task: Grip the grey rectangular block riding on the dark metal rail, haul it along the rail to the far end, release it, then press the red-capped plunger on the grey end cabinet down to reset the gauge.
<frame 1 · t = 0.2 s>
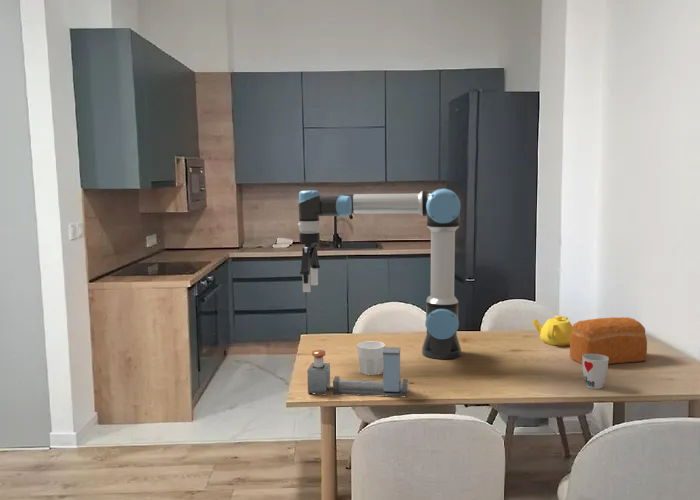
hand: (310, 288, 243), 28 cm above the table, fingers open, 13 cm apart
teapot: (552, 341, 269), on the table
grey rectangular block: (391, 369, 209), point 8 cm above the table, slide at -7.0 cm
cup 2: (371, 372, 232), on the table
rail: (370, 391, 211), on the table
bread: (607, 360, 243), on the table
plunger: (318, 365, 212), point 9 cm above the table, slide at 0.0 cm
gauge cabinet: (319, 390, 213), on the table
cup: (594, 387, 213), on the table
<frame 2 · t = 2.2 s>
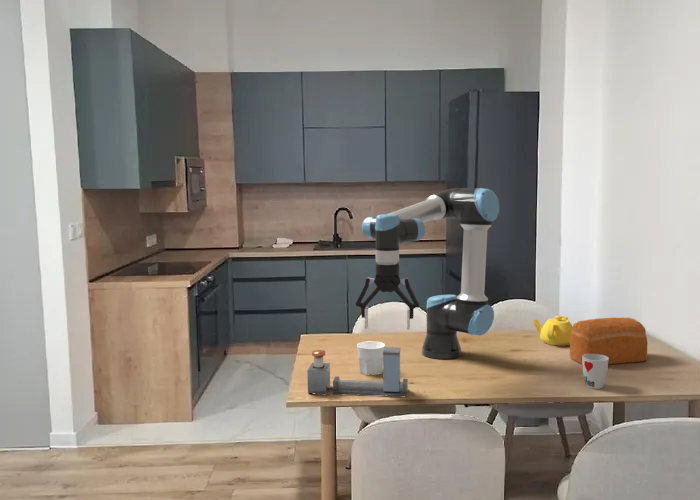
hand: (387, 328, 208), 21 cm above the table, fingers open, 13 cm apart
nothing on the table moved.
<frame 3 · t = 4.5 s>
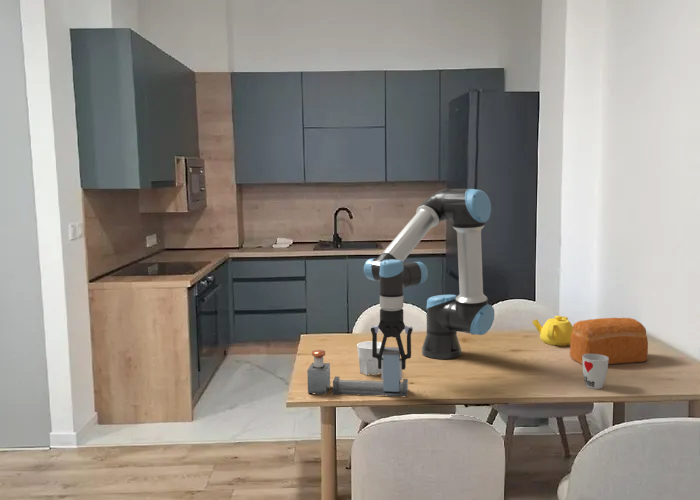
hand: (391, 378, 209), 5 cm above the table, fingers closed on grey rectangular block, 5 cm apart
grey rectangular block: (391, 369, 209), point 8 cm above the table, slide at -7.0 cm, touching gripper
everything else where it was.
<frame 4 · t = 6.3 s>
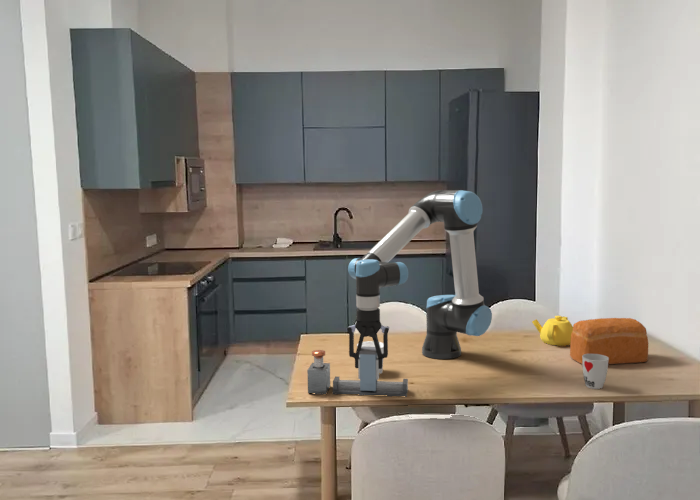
hand: (368, 377, 210), 5 cm above the table, fingers closed on grey rectangular block, 5 cm apart
grey rectangular block: (368, 368, 210), point 8 cm above the table, slide at 0.5 cm, touching gripper
everything else where it was.
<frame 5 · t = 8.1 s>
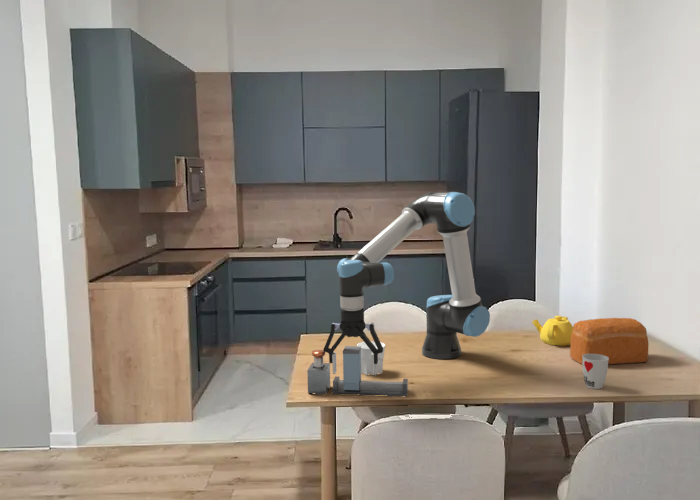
hand: (353, 373, 211), 6 cm above the table, fingers open, 12 cm apart
grey rectangular block: (352, 368, 211), point 8 cm above the table, slide at 5.9 cm
plunger: (318, 365, 212), point 9 cm above the table, slide at 0.0 cm, touching gripper
everything else where it was.
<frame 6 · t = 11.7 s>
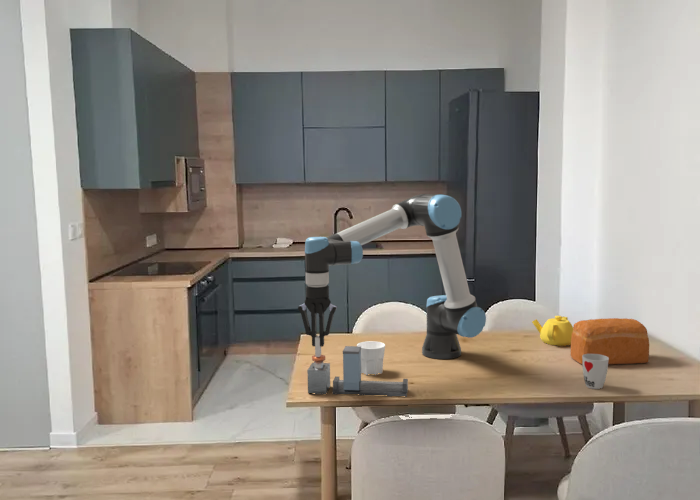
hand: (318, 355, 212), 12 cm above the table, fingers closed
plunger: (318, 369, 212), point 7 cm above the table, slide at 1.6 cm, touching gripper
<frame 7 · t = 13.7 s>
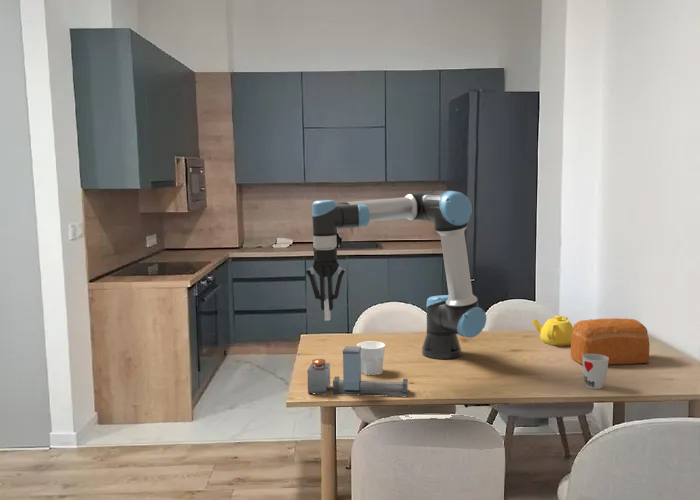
hand: (327, 319, 212), 23 cm above the table, fingers closed
plunger: (319, 373, 212), point 5 cm above the table, slide at 3.0 cm
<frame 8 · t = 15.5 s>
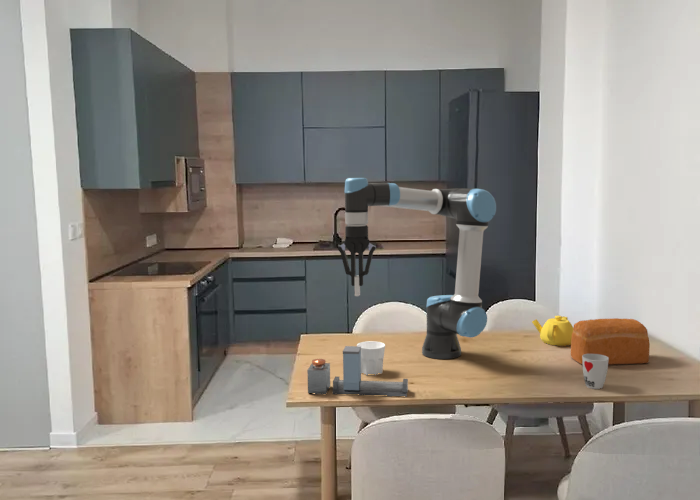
hand: (357, 295, 216), 30 cm above the table, fingers closed
at the end: grey rectangular block slide at 5.9 cm; plunger slide at 3.0 cm; the gripper is holding nothing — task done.
